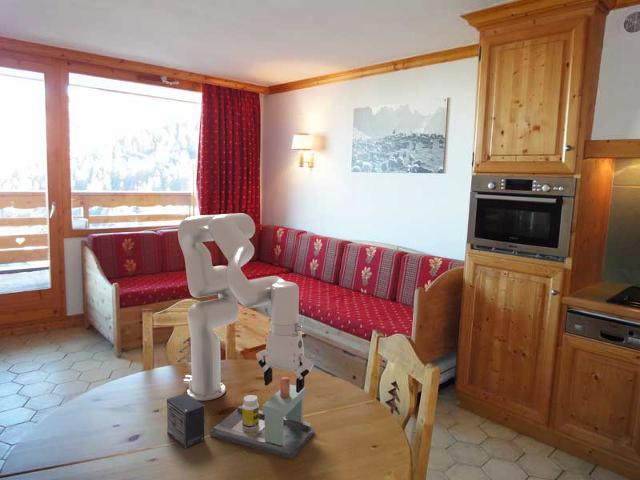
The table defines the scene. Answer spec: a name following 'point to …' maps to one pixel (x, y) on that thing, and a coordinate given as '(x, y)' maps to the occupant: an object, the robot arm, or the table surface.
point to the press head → (282, 410)
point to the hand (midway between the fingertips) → (283, 387)
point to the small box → (185, 420)
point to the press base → (255, 438)
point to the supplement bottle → (250, 412)
